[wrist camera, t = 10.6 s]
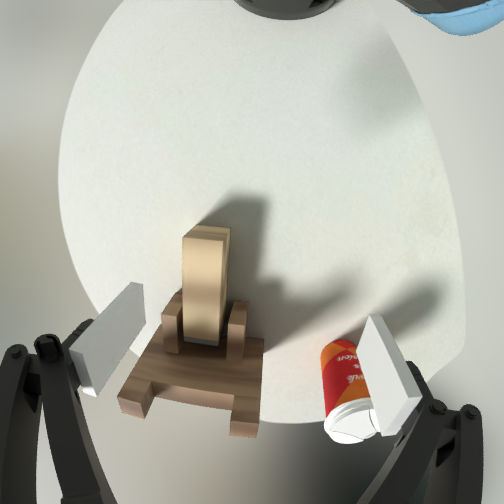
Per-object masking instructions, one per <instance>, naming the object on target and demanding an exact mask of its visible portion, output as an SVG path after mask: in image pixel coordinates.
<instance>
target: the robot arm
mask: <svg viewBox="0 0 504 504" xmlns="http://www.w3.org/2000/svg"><path fill="white" fill-rule="evenodd" d="M397 1H398V2H400V3H402V4H403V5H405V6H406V7H408V8H409V9H410V10H411V12H413V13H414V14H416V15H418V16H421V17H423V18H425V19H426V20H428V21H429V22H431V23H432V24H434V25H435V26H436V27H438V28H439V29H441V30H442V31H444V32H446V33H448V34H453V35H459V36H467V35H473V34H477V33H480V32H483V31H485V30H487V29H489V28H491V27H493V26H495V25H497V24H498V23H500V22H501V21H503V20H504V0H397ZM235 2H236V3H238V4H239V5H240V6H241V7H243V8H244V9H246V10H248V11H250V12H252V13H254V14H257V15H260V16H263V17H267V18H272V19H279V20H298V19H304V18H309V17H312V16H315V15H318V14H320V13H322V12H324V11H325V10H327V9H328V8H329V7H330V6H331V5H332V4H333V3H334V2H335V0H235ZM145 324H146V320H145V308H144V294H143V284H139V283H134V282H131V283H130V284H129V285H128V286H127V287H126V288H125V289H124V290H123V291H122V292H121V293H120V294H119V295H118V296H117V297H116V298H115V299H114V300H113V301H112V302H111V303H110V304H109V305H108V307H107V308H106V309H105V310H104V311H103V312H102V313H101V314H100V315H99V316H98V317H97V318H96V319H95V320H93V319H88V320H86V321H84V322H82V323H81V324H80V325H79V326H78V327H77V328H76V330H74V331H73V332H72V334H70V335H69V336H68V338H67V339H66V340H65V341H64V342H63V343H62V344H61V343H60V340H59V338H58V337H57V336H56V335H54V334H45V335H41V336H40V337H38V338H37V339H36V340H35V342H34V347H35V349H36V352H37V355H35V354H29V353H28V350H27V348H26V347H25V346H24V345H21V344H16V345H13V346H11V347H10V348H8V349H7V351H6V352H5V355H4V358H3V360H2V363H1V366H0V504H37V501H36V461H37V444H38V432H39V423H40V415H41V408H42V402H43V410H44V417H45V423H46V429H47V434H48V439H49V444H50V449H51V454H52V458H53V462H54V466H55V470H56V473H57V477H58V480H59V484H60V487H61V490H62V494H63V497H62V499H61V504H117V501H116V499H115V497H114V495H113V493H112V491H111V488H110V486H109V484H108V482H107V479H106V477H105V474H104V472H103V469H102V467H101V464H100V462H99V459H98V456H97V454H96V451H95V448H94V445H93V442H92V439H91V436H90V433H89V430H88V426H87V423H86V420H85V416H84V413H83V409H82V405H81V402H80V397H79V393H78V391H77V389H78V387H79V386H80V385H81V386H82V389H83V391H84V393H87V394H89V395H92V396H95V397H97V396H98V395H99V393H100V392H101V390H102V389H103V387H104V386H105V384H106V382H107V381H108V379H109V378H110V376H111V374H112V373H113V372H114V370H115V368H116V367H117V365H118V364H119V362H120V361H121V359H122V358H123V356H124V355H125V353H126V352H127V350H128V349H129V347H130V346H131V344H132V343H133V341H134V340H135V338H136V337H137V335H138V334H139V333H140V331H141V330H142V328H143V327H144V325H145ZM356 354H357V357H358V360H359V363H360V366H361V369H362V372H363V375H364V378H365V381H366V384H367V387H368V390H369V394H370V397H371V400H372V403H373V407H374V410H375V414H376V417H377V420H378V424H379V428H380V431H381V435H382V436H388V435H396V434H397V432H398V431H399V430H400V428H401V427H402V430H403V435H402V436H401V437H400V438H399V440H398V441H397V442H396V443H395V444H394V446H395V448H394V449H393V451H392V453H391V454H390V456H389V457H388V459H387V461H386V462H385V464H384V466H383V467H382V468H381V470H380V471H379V473H378V474H377V476H376V477H375V479H374V480H373V482H372V483H371V485H370V486H369V488H368V489H367V490H366V491H365V493H364V494H363V496H362V497H361V498H360V500H359V501H358V502H357V503H356V504H409V502H410V500H411V498H412V497H413V495H414V493H415V491H416V489H417V487H418V485H419V483H420V481H421V479H422V477H423V475H424V473H425V471H426V469H427V466H428V464H429V462H430V460H431V457H432V461H431V468H430V474H429V479H428V484H427V489H426V494H425V499H424V503H423V504H481V500H482V487H483V430H482V417H481V413H480V411H479V410H478V408H476V407H475V406H473V405H471V404H466V405H464V406H463V407H462V408H461V409H460V411H453V410H448V409H447V407H446V405H445V404H444V403H443V402H441V401H440V400H437V399H434V398H433V396H432V395H431V392H430V390H429V388H428V386H427V384H426V382H425V381H424V378H423V377H422V375H421V373H420V371H419V369H418V367H417V366H416V365H415V364H414V363H413V362H412V361H405V359H404V357H403V355H402V354H401V352H400V350H399V348H398V346H397V344H396V342H395V340H394V338H393V336H392V335H391V333H390V331H389V329H388V327H387V325H386V324H385V322H384V320H383V318H382V317H381V315H371V314H369V317H368V320H367V322H366V325H365V328H364V331H363V334H362V336H361V339H360V342H359V344H358V347H357V350H356Z"/></svg>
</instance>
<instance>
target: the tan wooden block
mask: <svg viewBox="0 0 504 504" xmlns="http://www.w3.org/2000/svg"><path fill="white" fill-rule="evenodd" d="M230 229H231V228H225V227H214V226H203V225H195V226H194V227H193V228H192V229H191V230H190V231H189V232H188V233H187V234H186V235H184V236H183V237H182V297H183V330H184V341H187V342H193V343H200V344H207V345H214V346H218V345H219V342H220V338H221V334H222V331H223V327H224V324H225V312H226V294H227V276H228V260H229V244H230Z"/></svg>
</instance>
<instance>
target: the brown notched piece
mask: <svg viewBox="0 0 504 504" xmlns="http://www.w3.org/2000/svg"><path fill="white" fill-rule="evenodd" d="M248 303H249V302H242V301H234V303H233V307H232V311H231V315H230V319H229V322H228V335H222V334H221V338H220V342H219V345H218V346H214V345H207V344H200V343H193V342H187V341H184V330H183V297H182V294H178V293H175V294H174V295H173V297H172V298H171V300H170V301H169V303H168V304H167V306H166V307H165V309H164V310H163V312H162V313H161V320H162V325H160V326H159V327H158V329H157V330H156V332H155V334H154V335H153V337H152V339H151V340H150V342H149V343H148V345H147V347H146V348H145V350H144V352H143V353H142V355H141V357H140V358H139V360H138V362H137V363H136V365H135V367H134V368H133V370H132V372H131V373H130V375H129V377H128V378H127V380H126V382H125V383H124V385H123V387H122V389H121V391H120V392H119V394H118V395H117V399H118V402H119V405H120V408H121V410H122V413H126V414H129V415H132V416H136V417H139V418H143V419H145V417H146V415H147V413H148V410H149V408H150V406H151V404H152V401H153V399H154V397H159V398H163V399H168V400H173V401H177V402H182V403H188V404H194V405H199V406H205V407H211V408H218V409H225V410H232V413H231V420H230V434H229V435H230V436H239V437H248V438H256V437H257V432H258V426H259V416H260V400H261V383H262V365H263V347H264V339H257V338H247V337H245V335H246V325H247V314H248Z"/></svg>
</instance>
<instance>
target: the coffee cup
mask: <svg viewBox="0 0 504 504" xmlns="http://www.w3.org/2000/svg"><path fill="white" fill-rule="evenodd" d="M356 350H357V347H356V346H355V344H354V343H353V342H351V341H349V340H337V341H334V342H331V343H330V344H328V345H327V346H326V347H325V348H324V349H323V351H322V353H321V369H322V379H323V389H324V399H325V410H326V420H325V423H324V428H325V431H326V432H327V433H328V434H329V435H330V437H331V438H332V439H333V440H334V441H336V442H339V443H346V444H348V443H357V442H361V441H363V439H365V438H369V437H371V436H372V435H374V434H375V433H376V432H377V431H378V432H380V428H379V424H378V420H377V417H376V414H375V410H374V407H373V403H372V400H371V397H370V394H369V390H368V387H367V384H366V381H365V378H364V375H363V372H362V369H361V366H360V363H359V360H358V357H357V354H356Z"/></svg>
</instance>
